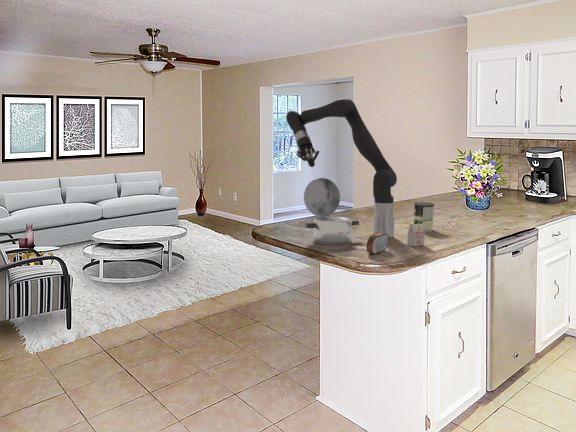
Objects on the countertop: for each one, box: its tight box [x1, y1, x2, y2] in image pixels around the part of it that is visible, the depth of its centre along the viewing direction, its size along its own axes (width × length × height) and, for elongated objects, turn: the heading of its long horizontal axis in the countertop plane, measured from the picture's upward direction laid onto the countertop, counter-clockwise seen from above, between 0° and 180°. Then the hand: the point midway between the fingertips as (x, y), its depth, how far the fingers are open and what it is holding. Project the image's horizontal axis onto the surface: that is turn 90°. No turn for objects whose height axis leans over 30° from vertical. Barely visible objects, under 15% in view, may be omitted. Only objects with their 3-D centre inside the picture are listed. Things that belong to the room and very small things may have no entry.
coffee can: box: [412, 201, 435, 232], centre depth 271 cm, size 10×10×14 cm
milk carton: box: [406, 224, 426, 247], centre depth 235 cm, size 4×7×10 cm, turn 115°
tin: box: [366, 232, 389, 255], centre depth 221 cm, size 15×3×8 cm, turn 141°
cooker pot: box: [304, 216, 360, 246], centre depth 243 cm, size 27×18×10 cm, turn 112°
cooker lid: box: [303, 177, 341, 217], centre depth 253 cm, size 19×19×4 cm
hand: (312, 165), depth 260 cm, fingers closed
